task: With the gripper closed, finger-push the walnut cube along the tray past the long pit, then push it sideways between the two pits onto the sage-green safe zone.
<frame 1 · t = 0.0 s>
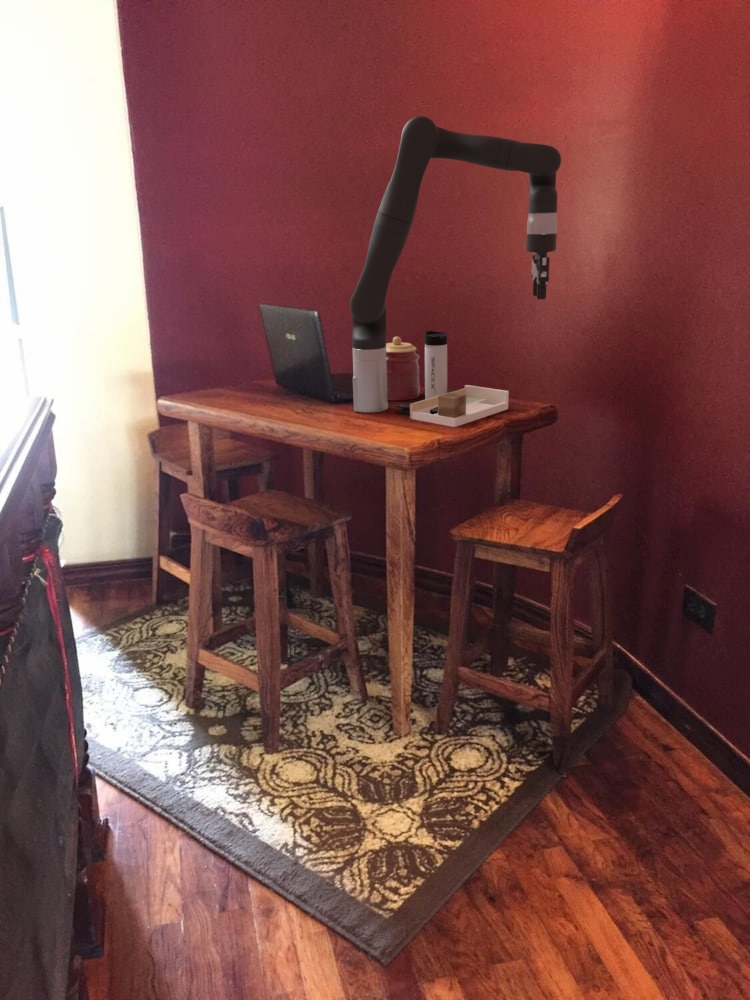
hand: (539, 297, 203), 29 cm above the table, tool pointing down, fingers open, 8 cm apart
tray: (458, 414, 208), on the table
canister: (398, 397, 231), on the table
block: (452, 414, 200), point 2 cm above the table, touching tray
travel mug: (435, 403, 222), on the table
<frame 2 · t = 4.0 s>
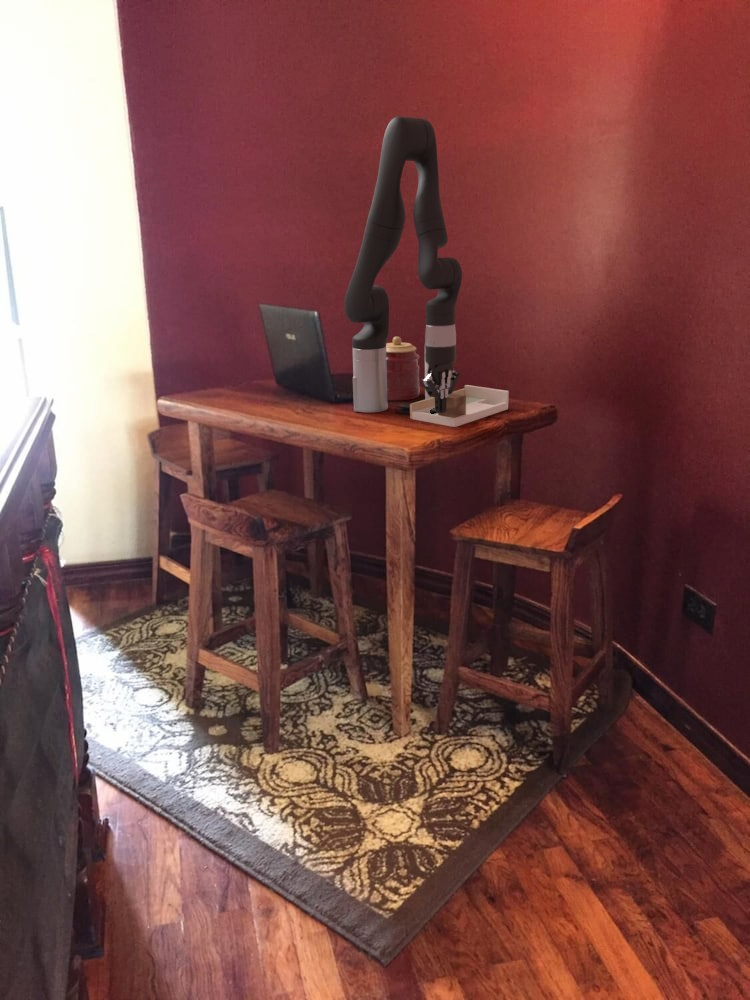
hand: (440, 412, 196), 4 cm above the table, tool pointing down, fingers closed
block: (452, 414, 200), point 2 cm above the table, touching tray, gripper
everything else where it was.
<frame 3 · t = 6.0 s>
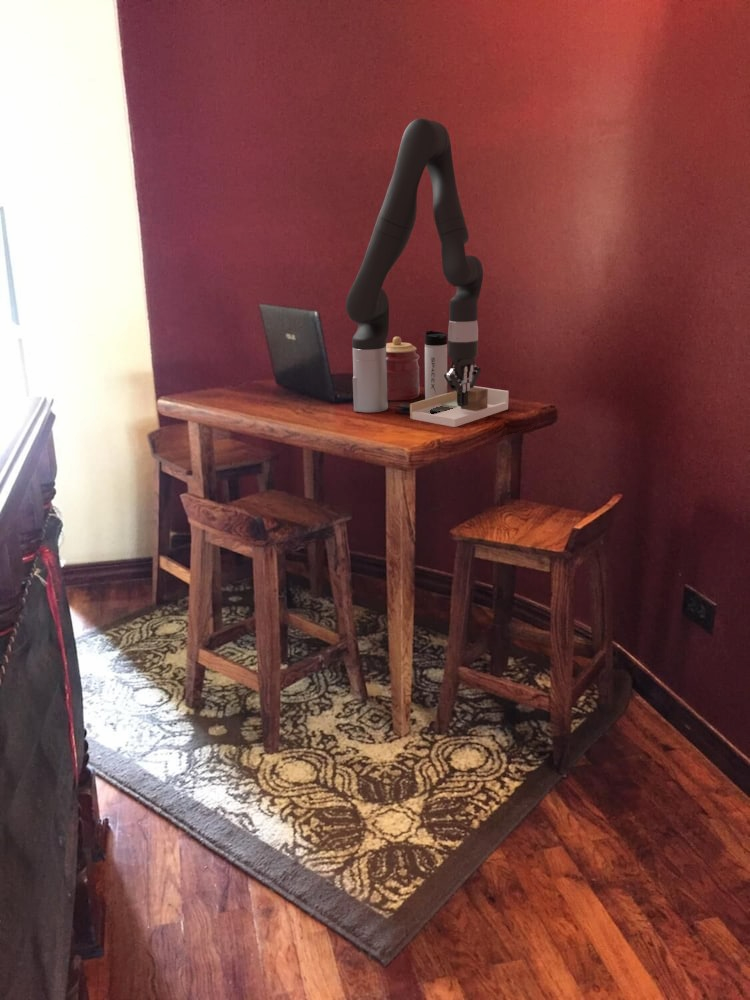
hand: (462, 405, 202), 4 cm above the table, tool pointing down, fingers closed
block: (474, 408, 206), point 2 cm above the table, touching gripper
everything else where it was.
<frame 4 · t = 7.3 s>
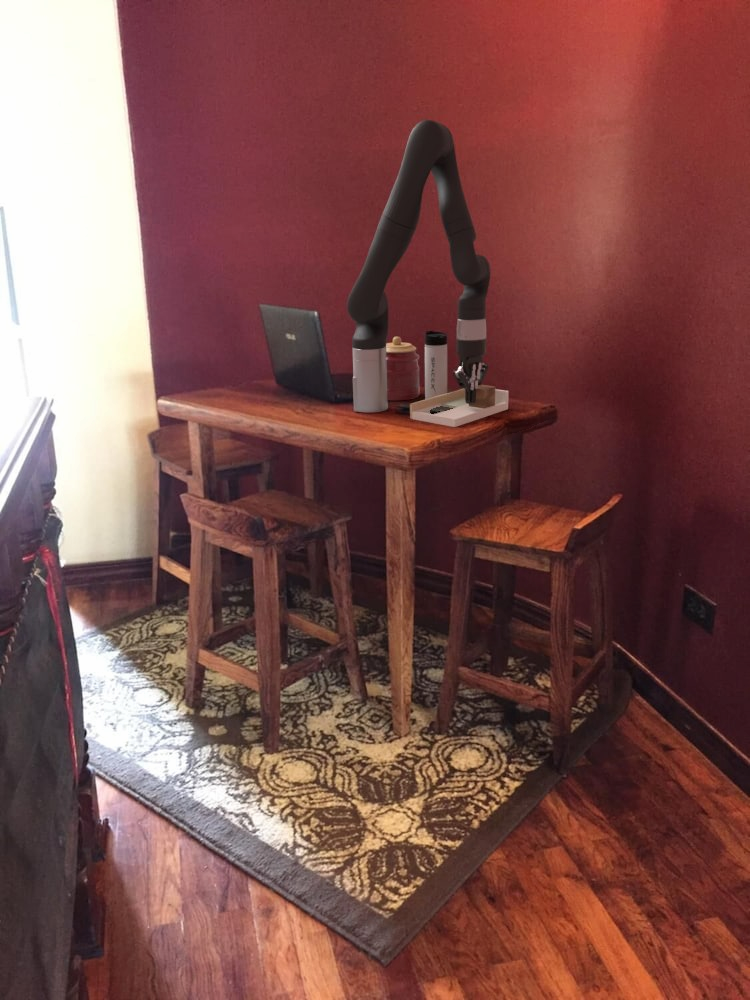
hand: (470, 403, 204), 4 cm above the table, tool pointing down, fingers closed
block: (481, 405, 208), point 2 cm above the table, touching tray, gripper
everything else where it was.
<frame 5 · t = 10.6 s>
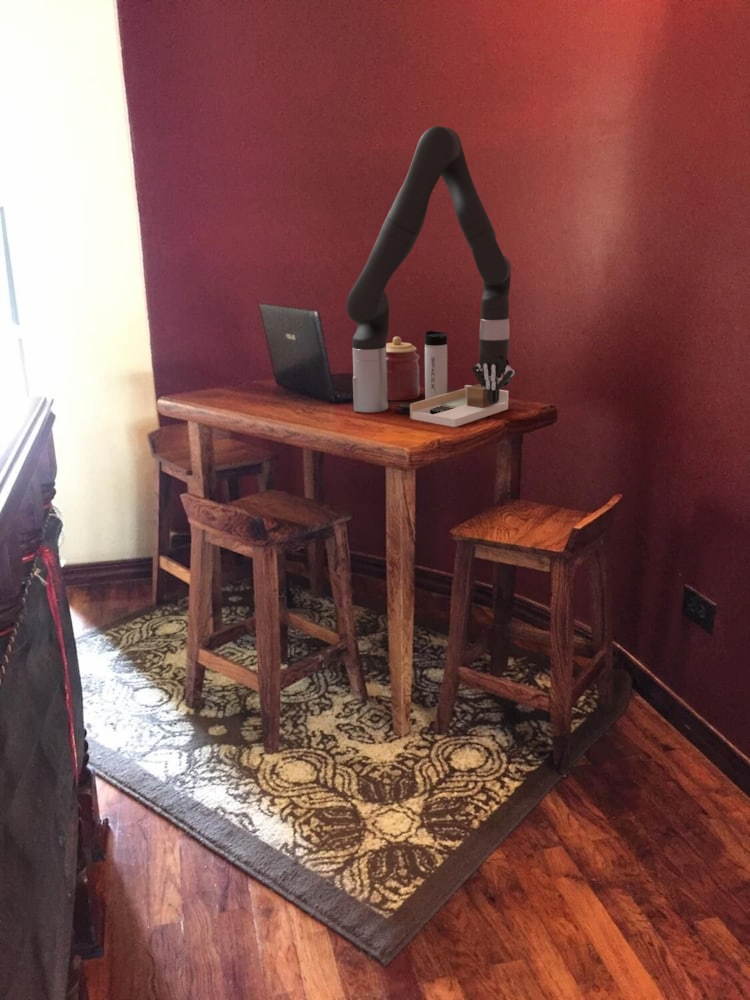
hand: (493, 403, 204), 3 cm above the table, tool pointing down, fingers closed
block: (480, 405, 209), point 2 cm above the table, touching gripper
everything else where it was.
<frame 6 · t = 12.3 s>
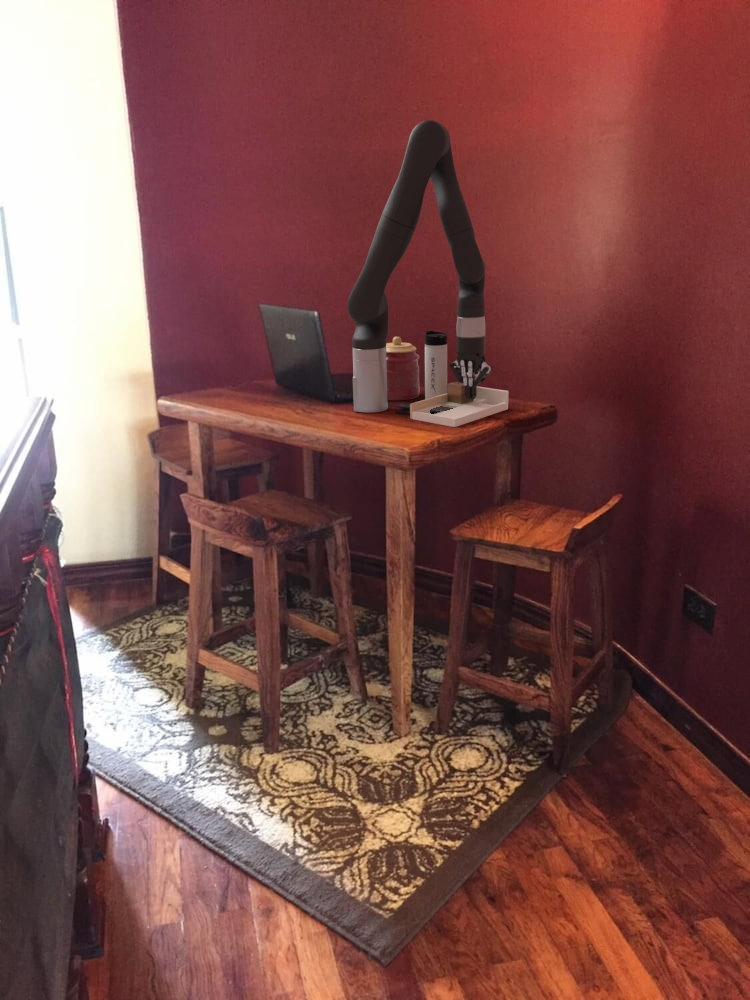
hand: (470, 399, 209), 4 cm above the table, tool pointing down, fingers closed
block: (460, 401, 214), point 2 cm above the table, touching tray, gripper
everything else where it was.
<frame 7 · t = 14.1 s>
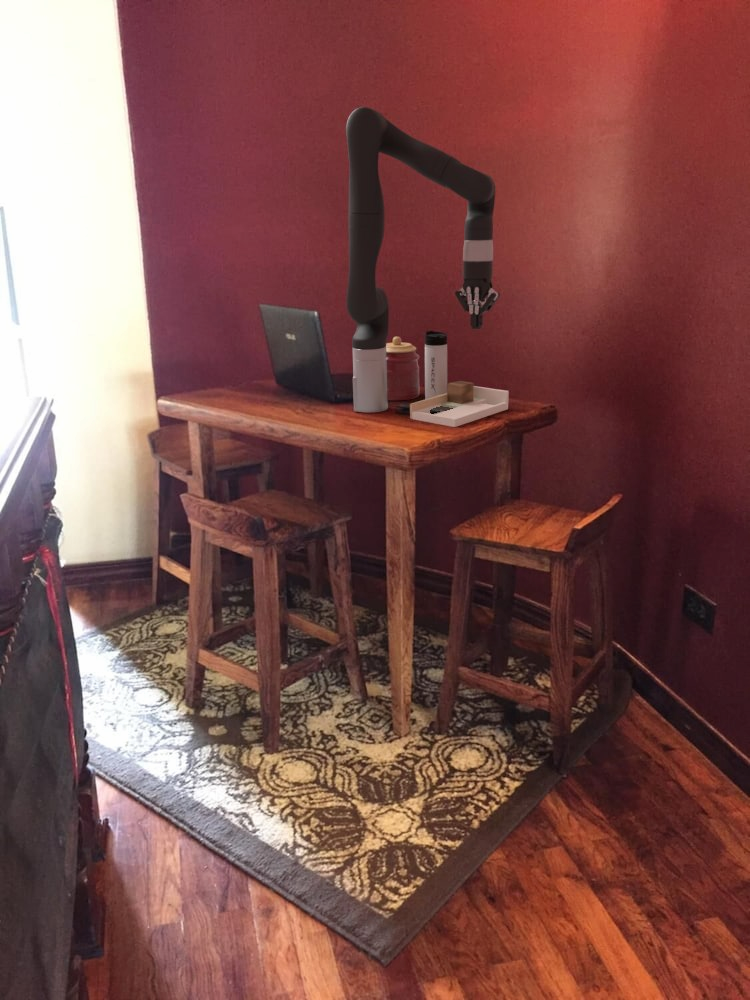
hand: (476, 328, 202), 22 cm above the table, tool pointing down, fingers closed
block: (460, 401, 214), point 2 cm above the table, touching tray
everything else where it was.
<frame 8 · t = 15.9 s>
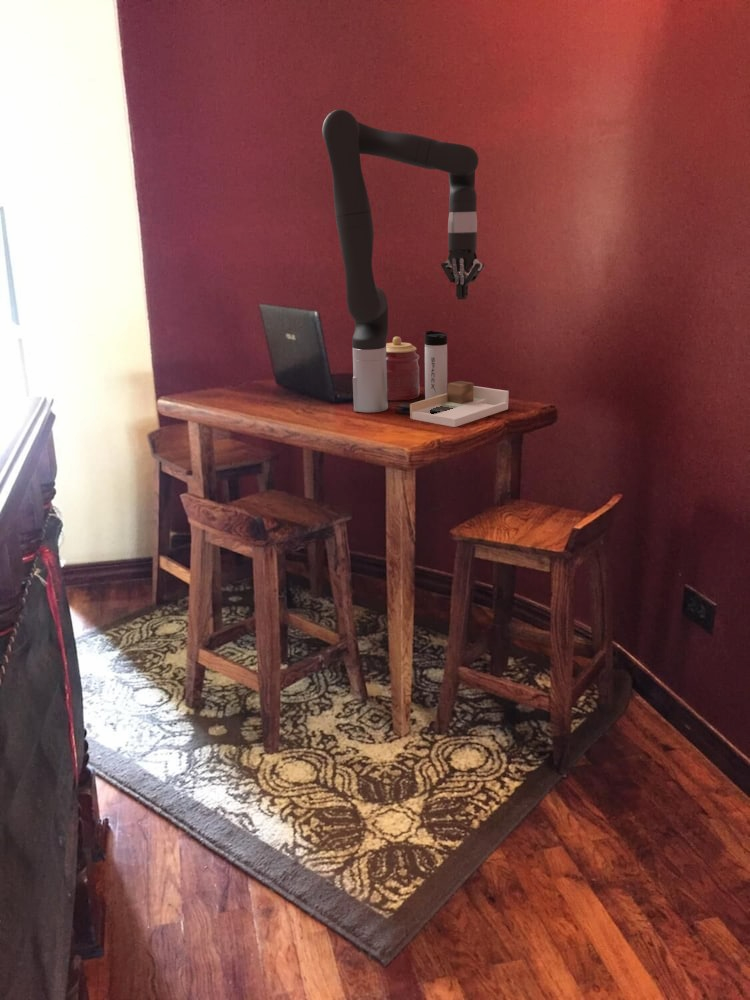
hand: (461, 299, 208), 29 cm above the table, tool pointing down, fingers closed
nothing on the table moved.
at the end: block inside the target area (0.4 cm from its centre), point 2.0 cm above the table; block tilted 0°; block moved 15.6 cm from its start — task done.
